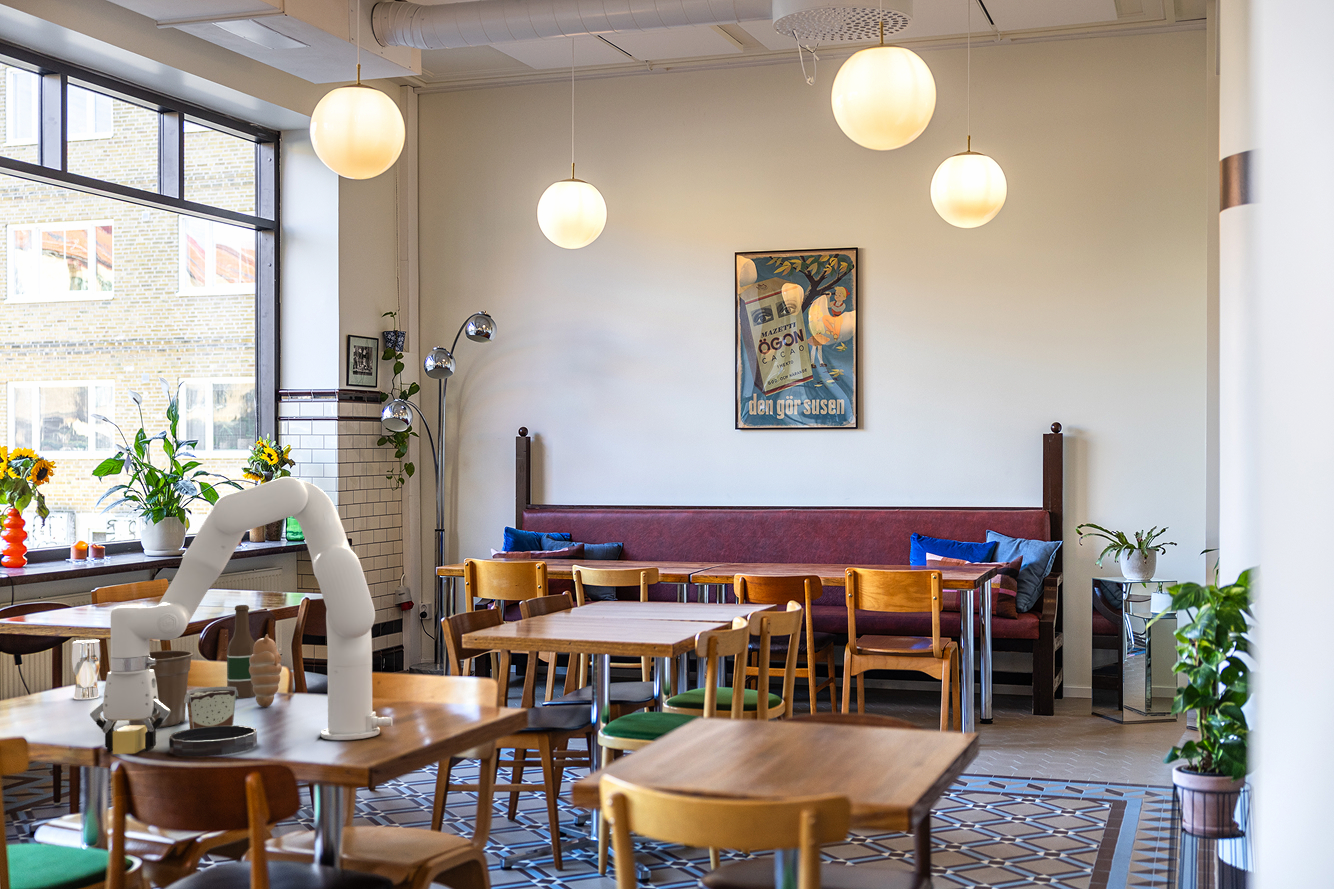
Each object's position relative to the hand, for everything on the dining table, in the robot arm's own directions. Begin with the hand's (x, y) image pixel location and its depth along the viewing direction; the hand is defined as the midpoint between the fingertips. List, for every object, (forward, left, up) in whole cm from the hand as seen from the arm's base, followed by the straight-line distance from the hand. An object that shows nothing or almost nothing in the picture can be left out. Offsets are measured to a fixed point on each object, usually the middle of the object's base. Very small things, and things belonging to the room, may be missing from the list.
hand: (130, 749), depth 265 cm
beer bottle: (-3, -72, -1) cm, 72 cm away
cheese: (0, 0, 0) cm, 1 cm away
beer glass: (+39, -76, -1) cm, 85 cm away
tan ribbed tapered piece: (-14, -53, -1) cm, 55 cm away
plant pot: (+6, -33, -1) cm, 34 cm away
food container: (-10, -18, -1) cm, 21 cm away
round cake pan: (-17, 0, 0) cm, 17 cm away
